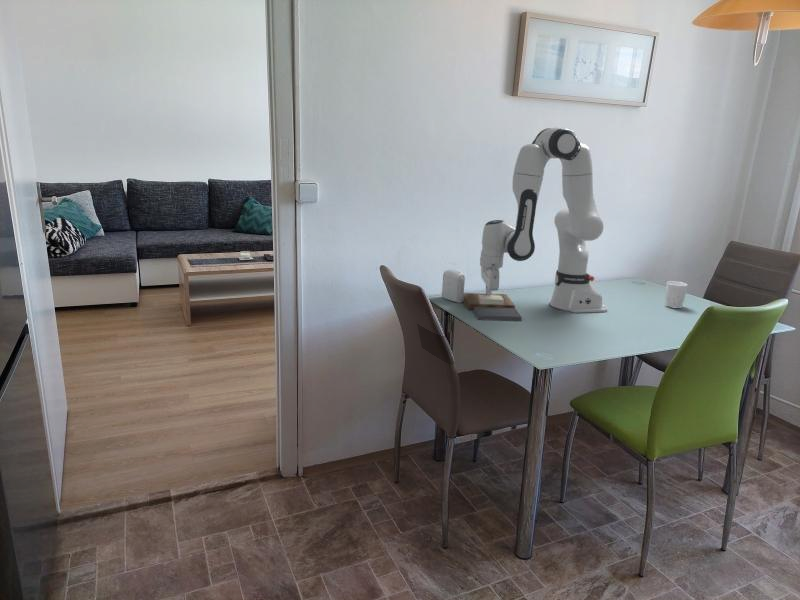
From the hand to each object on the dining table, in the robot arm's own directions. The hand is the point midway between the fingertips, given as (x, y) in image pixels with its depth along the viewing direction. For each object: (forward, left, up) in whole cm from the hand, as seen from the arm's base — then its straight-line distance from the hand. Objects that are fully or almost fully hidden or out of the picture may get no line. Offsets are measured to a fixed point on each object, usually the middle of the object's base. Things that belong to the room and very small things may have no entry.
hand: (488, 295), depth 231 cm
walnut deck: (0, 0, -4) cm, 4 cm away
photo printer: (+13, -6, -4) cm, 15 cm away
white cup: (-79, -6, -4) cm, 79 cm away
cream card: (0, +4, -1) cm, 5 cm away
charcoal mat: (-1, +14, -4) cm, 14 cm away
